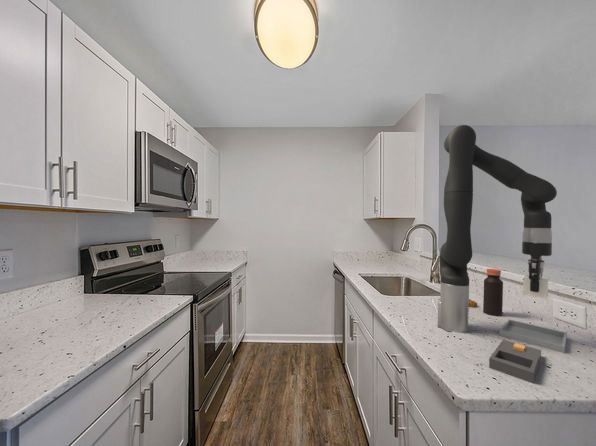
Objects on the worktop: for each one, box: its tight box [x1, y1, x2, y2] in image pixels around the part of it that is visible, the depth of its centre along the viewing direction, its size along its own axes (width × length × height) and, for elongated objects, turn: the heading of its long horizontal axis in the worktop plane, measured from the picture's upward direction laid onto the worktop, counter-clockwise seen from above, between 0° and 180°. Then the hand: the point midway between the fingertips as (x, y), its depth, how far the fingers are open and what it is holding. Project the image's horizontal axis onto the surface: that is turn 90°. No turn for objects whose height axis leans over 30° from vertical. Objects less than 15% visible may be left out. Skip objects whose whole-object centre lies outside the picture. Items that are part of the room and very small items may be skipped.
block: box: [522, 275, 549, 300], centre depth 89 cm, size 6×4×6 cm
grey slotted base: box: [488, 339, 542, 384], centre depth 74 cm, size 9×18×3 cm, turn 132°
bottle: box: [482, 268, 504, 317], centre depth 114 cm, size 7×7×20 cm
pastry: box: [469, 298, 478, 308], centre depth 127 cm, size 9×7×4 cm
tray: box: [498, 318, 568, 354], centre depth 91 cm, size 16×16×2 cm
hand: (535, 290), depth 89 cm, fingers closed on block, 4 cm apart
